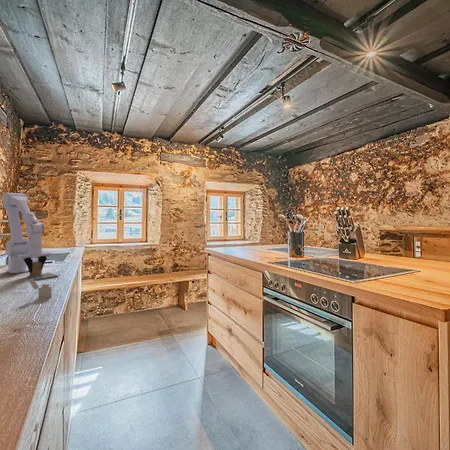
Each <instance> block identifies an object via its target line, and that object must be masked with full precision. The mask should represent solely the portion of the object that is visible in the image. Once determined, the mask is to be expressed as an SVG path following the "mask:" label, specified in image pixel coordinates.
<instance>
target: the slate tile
mask: <svg viewBox="0 0 450 450" xmlns="http://www.w3.org/2000/svg"><path fill="white" fill-rule="evenodd" d="M58 277H59V275H58V274H54V273H51V272H47V273H42V274H39V275H33V276H30V275H28V276H26V278H27V279H28V280H30V279H32V278H33V279H34V280H35V282H37V281H42V280H48V279H54V278H58Z"/></svg>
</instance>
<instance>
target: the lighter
mask: <svg viewBox="0 0 450 450" xmlns="http://www.w3.org/2000/svg"><path fill="white" fill-rule="evenodd" d="M28 283H30V285H31V286H32V288H33V290H34V291H35V290H37V289H38V292H37V293H38V300H41V299H42V300H43V298H44V299H49V298H50V299H51V298H52V297H53V296H52V295H53V293H52V285H50V284H49V283H43V284H41V286H39V285H38V284H37V281H35V280H34V279H33V278H32V279H28Z"/></svg>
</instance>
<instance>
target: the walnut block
mask: <svg viewBox="0 0 450 450" xmlns="http://www.w3.org/2000/svg"><path fill="white" fill-rule="evenodd" d="M42 271H43V269H42V268H41V262H39V261H38V260H37V261H33V262H32V272H29V276H33V275H39V274H43V272H42Z"/></svg>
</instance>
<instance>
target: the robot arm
mask: <svg viewBox="0 0 450 450" xmlns="http://www.w3.org/2000/svg"><path fill="white" fill-rule="evenodd" d="M1 199H2V200H1V201H2V206H3V209H6V213H7V220H8V225H9V231H10V232H9V233H10V239H9V240H8V241H7V242H6V243H5V249H4V250H5V254H6V255H7V257H8V259H7V260H8V261H7V264H8V265H7V266H8V270H7V269H6V272H8V273H9V274H10V273H11V274H19V273H26V272H28V273H30V272H32V262H34V260H33V259H37V261H39V262H41V268H42V270H43V268H44V265H45V263H46V261H47V259H48V257H52V252H43V243H42V242H43V238H42V237H43V235H42V234H44V232H45V226H44V224H43V222H41V221H38V219H37V217H36V215H35V213H34V212H31V210H30V208H29V205H28V200H29V198H28V195H27V194H26V193H17V192H16V193H15V192H8V191H7V192H4V193H3V194H2V198H1ZM19 211H20V213H21V214H22V215H21V219H22V221H23V223H24V225H25V232H26V237H27V238H28V239H26V238H24V237H23V232H22V225H21V220H20V213H19Z"/></svg>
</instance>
